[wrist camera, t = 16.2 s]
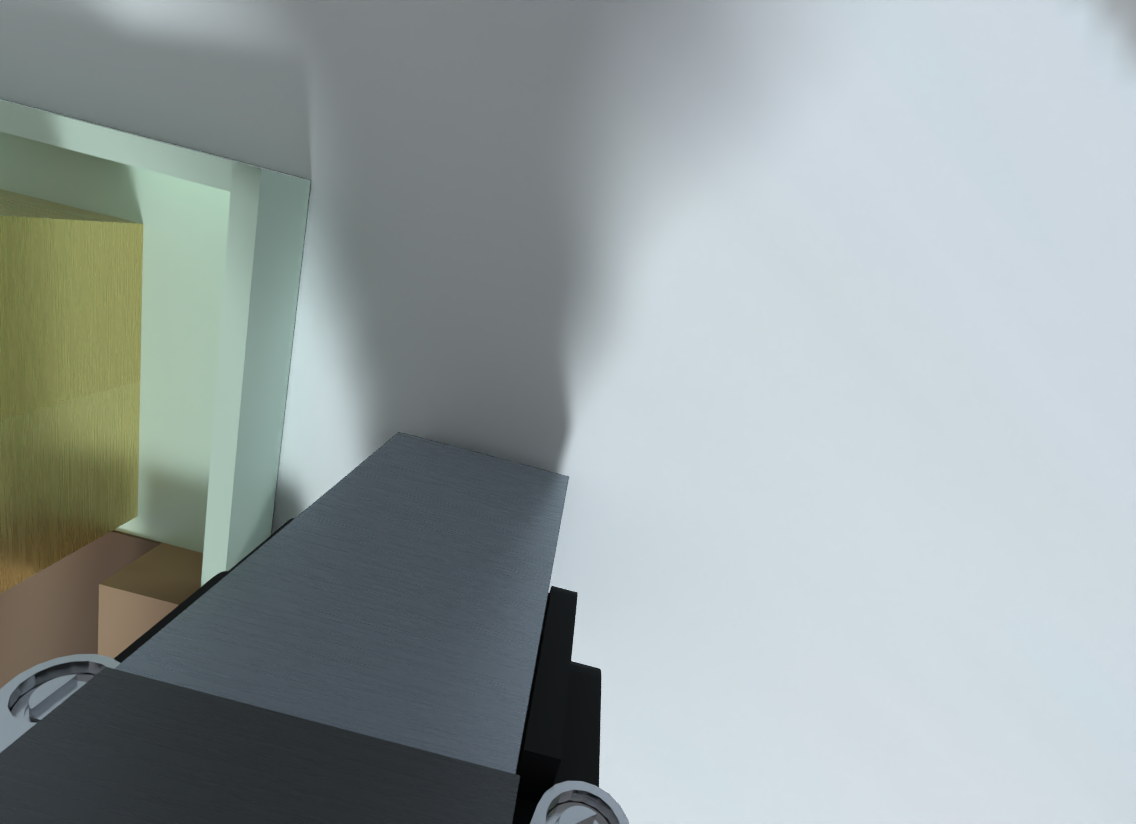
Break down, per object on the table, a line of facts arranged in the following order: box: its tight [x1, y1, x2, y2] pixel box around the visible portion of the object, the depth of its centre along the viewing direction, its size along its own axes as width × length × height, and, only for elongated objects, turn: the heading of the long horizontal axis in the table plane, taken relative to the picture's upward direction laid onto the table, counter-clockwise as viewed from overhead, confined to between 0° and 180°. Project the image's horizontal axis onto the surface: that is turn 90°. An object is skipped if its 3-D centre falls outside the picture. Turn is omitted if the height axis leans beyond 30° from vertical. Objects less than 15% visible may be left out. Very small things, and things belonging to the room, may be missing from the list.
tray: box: [0, 99, 311, 587], centre depth 14 cm, size 11×11×2 cm
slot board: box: [0, 530, 203, 689], centre depth 18 cm, size 14×18×2 cm
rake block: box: [0, 432, 569, 824], centre depth 10 cm, size 4×5×11 cm
